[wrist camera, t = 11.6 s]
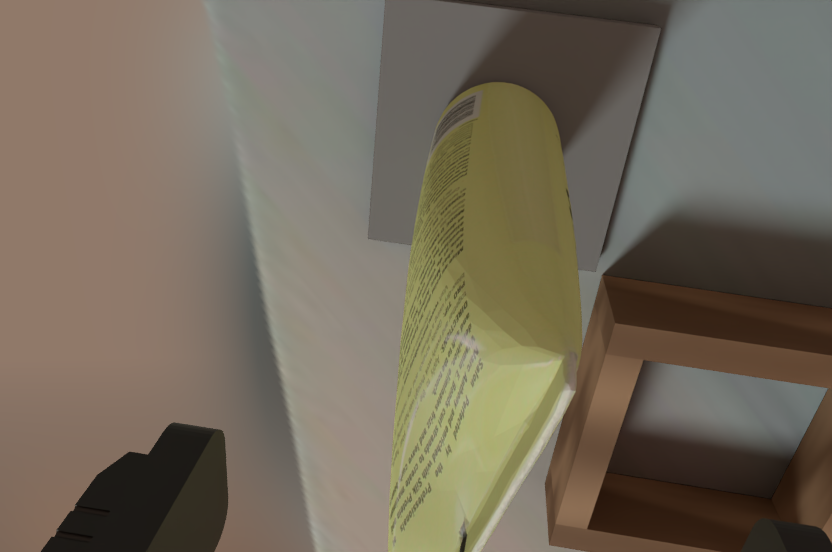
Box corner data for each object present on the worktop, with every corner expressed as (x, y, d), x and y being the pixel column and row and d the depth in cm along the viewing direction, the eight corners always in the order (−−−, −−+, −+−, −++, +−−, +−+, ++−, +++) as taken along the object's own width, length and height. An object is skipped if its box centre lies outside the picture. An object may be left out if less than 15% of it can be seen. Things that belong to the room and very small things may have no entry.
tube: (581, 190, 27) (694, 675, 10) (465, 230, 28) (387, 708, 11) (535, 56, 24) (579, 383, 8) (411, 107, 26) (215, 473, 9)
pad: (593, 263, 29) (595, 272, 28) (370, 231, 30) (367, 238, 29) (656, 25, 24) (661, 28, 24) (388, -9, 25) (385, -6, 24)
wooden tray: (789, 523, 35) (821, 591, 31) (545, 483, 36) (549, 544, 32) (902, 318, 29) (957, 374, 25) (602, 274, 29) (615, 323, 26)
